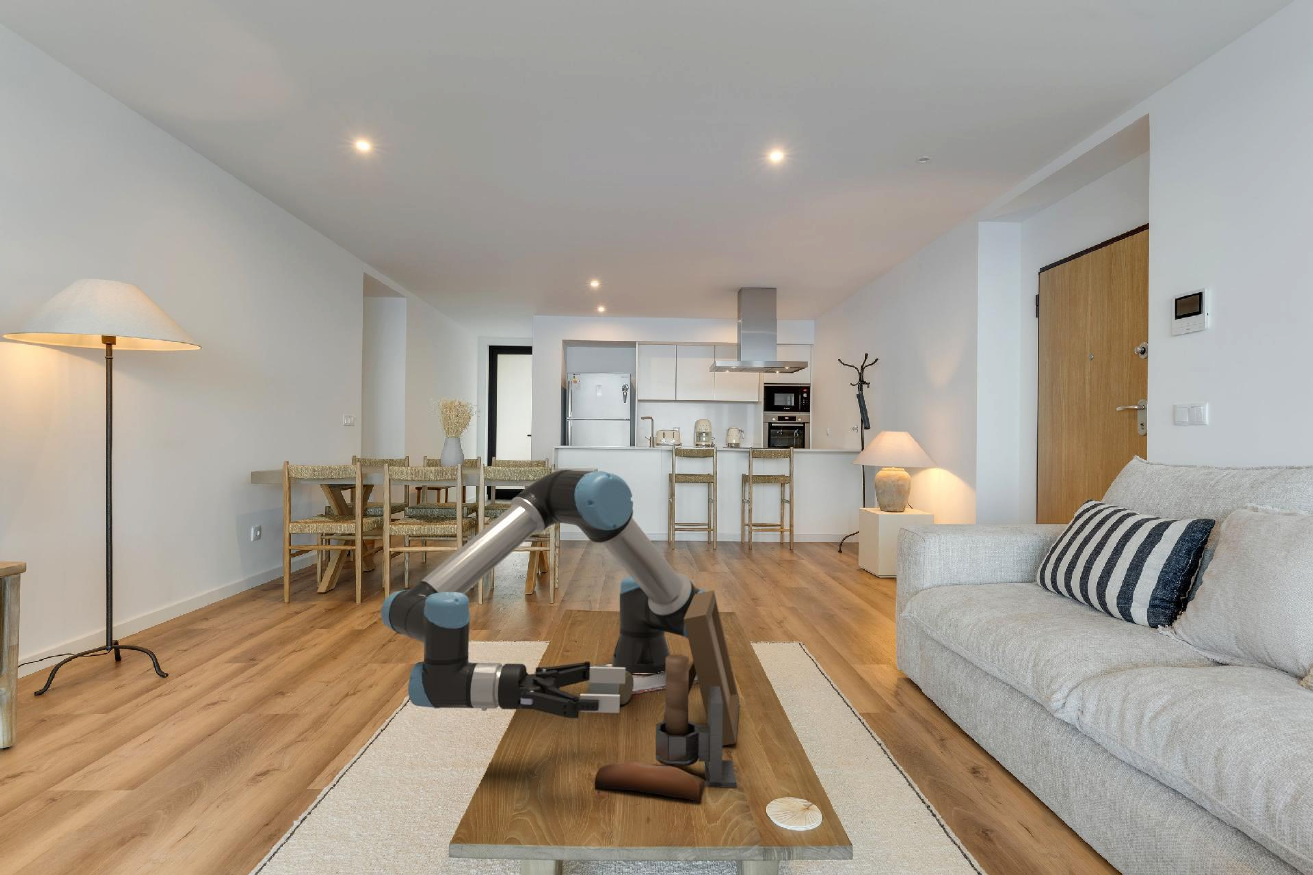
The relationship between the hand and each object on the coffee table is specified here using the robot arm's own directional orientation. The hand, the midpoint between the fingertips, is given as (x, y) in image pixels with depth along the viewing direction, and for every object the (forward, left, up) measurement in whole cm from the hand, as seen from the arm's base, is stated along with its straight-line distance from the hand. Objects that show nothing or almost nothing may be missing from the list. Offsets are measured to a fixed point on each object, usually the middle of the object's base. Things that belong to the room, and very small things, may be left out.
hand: (622, 688), depth 119 cm
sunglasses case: (0, +7, -15) cm, 17 cm away
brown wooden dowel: (-6, +8, -11) cm, 14 cm away
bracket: (-7, +10, -15) cm, 19 cm away
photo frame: (-27, -1, -15) cm, 31 cm away
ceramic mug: (-25, -23, -15) cm, 37 cm away
